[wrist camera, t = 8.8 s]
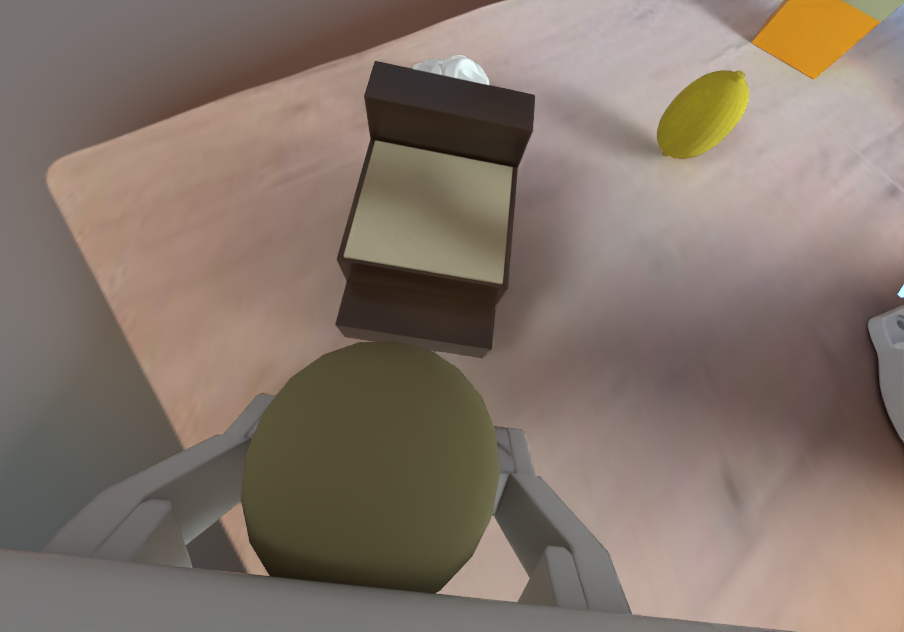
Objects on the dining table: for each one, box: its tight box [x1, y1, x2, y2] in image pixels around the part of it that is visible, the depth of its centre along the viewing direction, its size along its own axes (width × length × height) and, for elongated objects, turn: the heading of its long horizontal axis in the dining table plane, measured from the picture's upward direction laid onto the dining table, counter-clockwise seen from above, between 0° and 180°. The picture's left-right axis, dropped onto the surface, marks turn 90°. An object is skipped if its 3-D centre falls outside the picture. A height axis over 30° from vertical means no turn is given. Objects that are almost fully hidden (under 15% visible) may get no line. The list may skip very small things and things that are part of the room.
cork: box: [241, 341, 500, 594], centre depth 11 cm, size 6×6×11 cm
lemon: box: [657, 71, 749, 159], centre depth 29 cm, size 6×6×8 cm
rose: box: [413, 55, 489, 85], centre depth 29 cm, size 10×4×10 cm
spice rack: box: [336, 61, 535, 358], centre depth 21 cm, size 15×10×9 cm, turn 173°
